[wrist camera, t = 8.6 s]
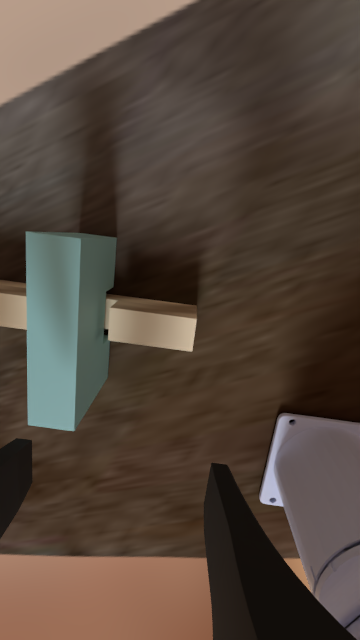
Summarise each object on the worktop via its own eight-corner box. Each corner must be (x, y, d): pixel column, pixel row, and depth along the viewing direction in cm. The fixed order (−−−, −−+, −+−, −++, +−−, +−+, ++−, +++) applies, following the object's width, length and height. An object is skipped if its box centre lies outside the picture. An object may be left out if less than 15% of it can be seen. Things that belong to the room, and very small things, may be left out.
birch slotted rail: (196, 305, 21) (196, 318, 18) (192, 333, 21) (192, 351, 18) (-7, 278, 21) (-45, 287, 18) (-6, 307, 22) (-43, 320, 18)
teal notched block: (116, 237, 20) (80, 238, 14) (107, 377, 23) (74, 431, 16) (78, 232, 20) (25, 231, 14) (74, 372, 23) (28, 424, 16)
